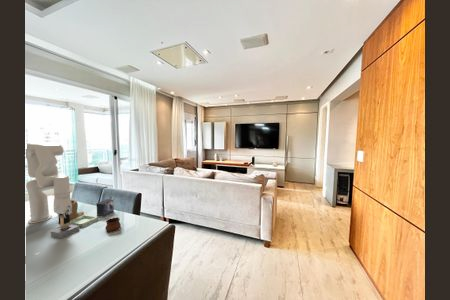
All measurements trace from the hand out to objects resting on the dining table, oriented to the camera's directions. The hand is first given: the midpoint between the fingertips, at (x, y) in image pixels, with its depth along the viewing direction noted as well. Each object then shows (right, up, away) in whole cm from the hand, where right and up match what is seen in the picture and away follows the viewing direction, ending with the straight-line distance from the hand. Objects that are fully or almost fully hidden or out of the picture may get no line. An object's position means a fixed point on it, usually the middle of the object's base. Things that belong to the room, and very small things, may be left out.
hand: (64, 222), depth 116 cm
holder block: (0, -7, 0) cm, 7 cm away
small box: (+7, -5, +30) cm, 31 cm away
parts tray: (+1, -6, +15) cm, 16 cm away
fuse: (0, -4, 0) cm, 4 cm away
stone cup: (-12, -6, +19) cm, 24 cm away
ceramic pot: (+29, -7, +4) cm, 30 cm away
